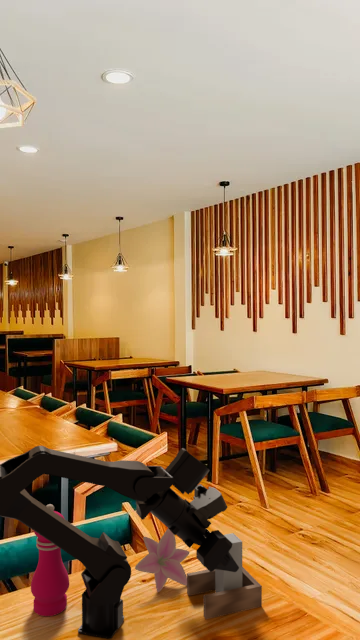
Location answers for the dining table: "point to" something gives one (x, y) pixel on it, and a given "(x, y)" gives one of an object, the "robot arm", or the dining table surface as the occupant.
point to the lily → (164, 560)
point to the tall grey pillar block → (228, 578)
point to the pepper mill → (49, 578)
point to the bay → (225, 594)
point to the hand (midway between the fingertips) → (226, 558)
